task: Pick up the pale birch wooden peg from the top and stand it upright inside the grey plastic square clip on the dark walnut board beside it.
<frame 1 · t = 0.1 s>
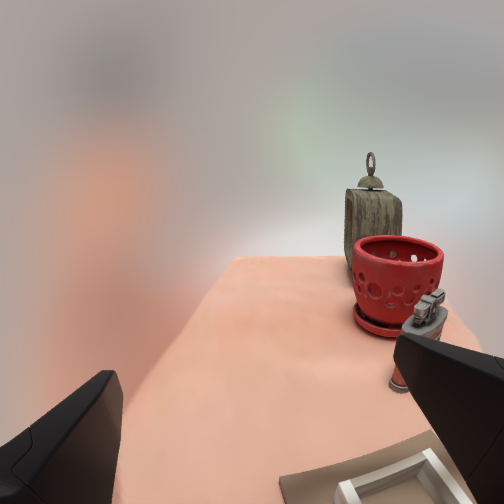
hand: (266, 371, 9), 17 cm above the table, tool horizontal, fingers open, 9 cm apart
plant pot: (389, 324, 42), on the table
tabletop clock: (367, 279, 60), on the table
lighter: (412, 376, 30), on the table
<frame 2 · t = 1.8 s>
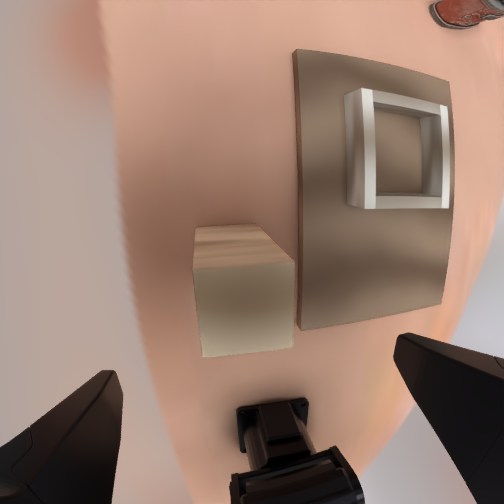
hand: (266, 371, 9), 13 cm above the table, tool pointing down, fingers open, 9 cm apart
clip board: (384, 191, 22), on the table
peg: (227, 254, 21), on the table
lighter: (452, 15, 19), on the table
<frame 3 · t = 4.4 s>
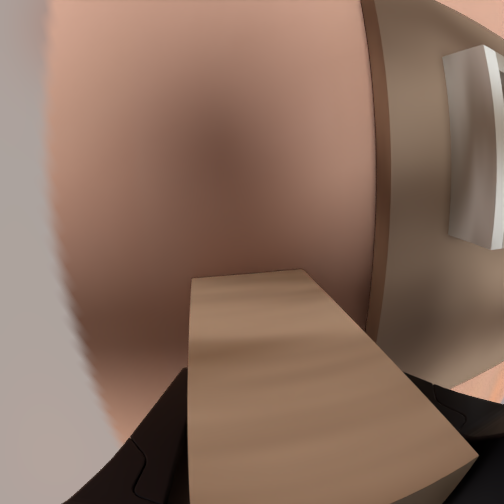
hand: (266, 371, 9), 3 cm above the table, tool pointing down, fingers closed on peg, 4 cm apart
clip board: (483, 211, 12), on the table
peg: (250, 323, 12), on the table, touching gripper
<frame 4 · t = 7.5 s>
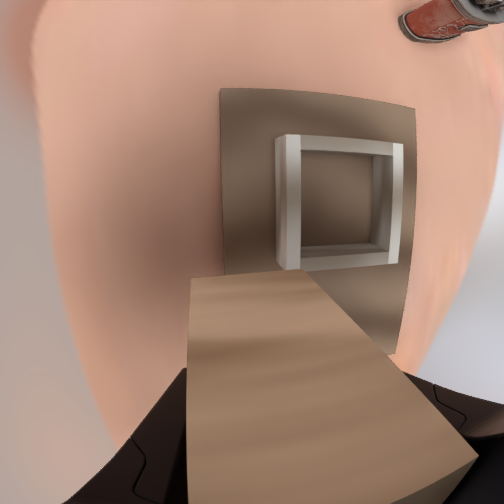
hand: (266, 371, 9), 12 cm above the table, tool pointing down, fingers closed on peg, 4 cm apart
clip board: (325, 241, 21), on the table
peg: (249, 323, 12), point 9 cm above the table, touching gripper
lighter: (428, 27, 18), on the table
when the fingers open (5 cm above the table, at t = 10.5 s): peg stays where it is, resting on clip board.
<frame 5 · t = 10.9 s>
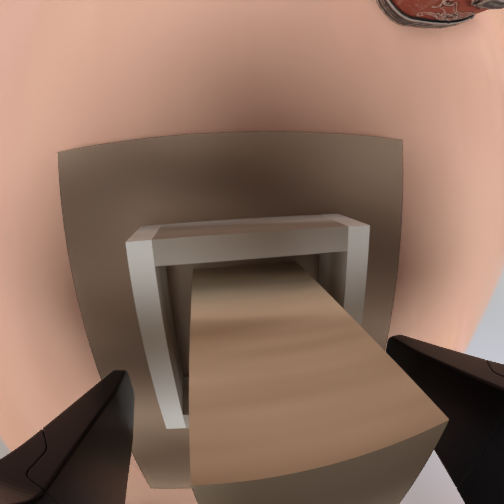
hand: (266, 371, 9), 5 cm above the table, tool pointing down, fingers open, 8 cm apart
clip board: (246, 358, 14), on the table
peg: (247, 312, 12), point 1 cm above the table, touching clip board
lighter: (425, 4, 11), on the table
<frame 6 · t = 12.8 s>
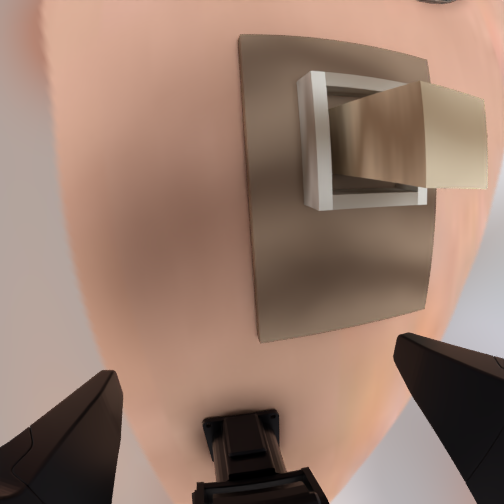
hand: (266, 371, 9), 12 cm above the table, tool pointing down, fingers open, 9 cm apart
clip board: (351, 187, 20), on the table
peg: (357, 142, 18), point 1 cm above the table, touching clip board
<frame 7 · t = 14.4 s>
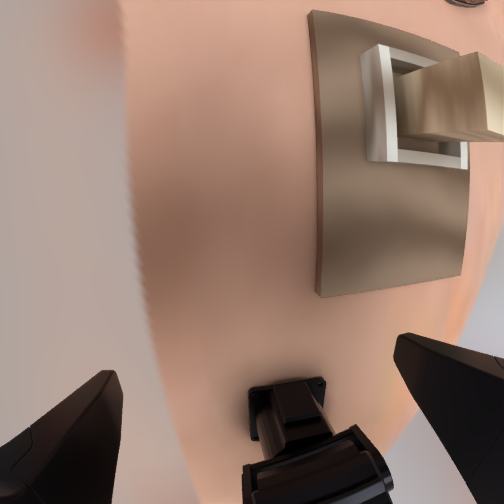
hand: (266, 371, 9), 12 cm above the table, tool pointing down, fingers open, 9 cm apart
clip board: (402, 153, 20), on the table
peg: (408, 112, 18), point 1 cm above the table, touching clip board
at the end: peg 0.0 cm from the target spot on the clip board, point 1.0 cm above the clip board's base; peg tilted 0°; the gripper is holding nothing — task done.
